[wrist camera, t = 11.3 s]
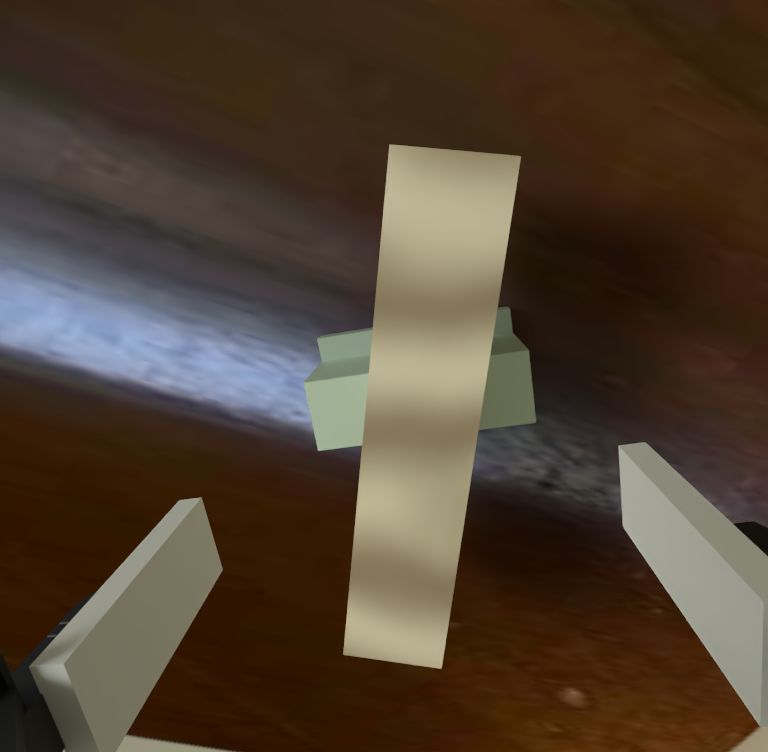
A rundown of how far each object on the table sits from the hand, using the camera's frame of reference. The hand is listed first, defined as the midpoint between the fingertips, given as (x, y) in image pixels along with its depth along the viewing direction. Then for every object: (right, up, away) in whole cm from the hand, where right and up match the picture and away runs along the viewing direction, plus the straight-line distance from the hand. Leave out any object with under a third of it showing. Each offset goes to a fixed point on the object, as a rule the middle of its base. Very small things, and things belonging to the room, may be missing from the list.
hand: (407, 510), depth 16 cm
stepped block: (+2, +4, +17) cm, 18 cm away
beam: (+1, +3, +11) cm, 12 cm away
